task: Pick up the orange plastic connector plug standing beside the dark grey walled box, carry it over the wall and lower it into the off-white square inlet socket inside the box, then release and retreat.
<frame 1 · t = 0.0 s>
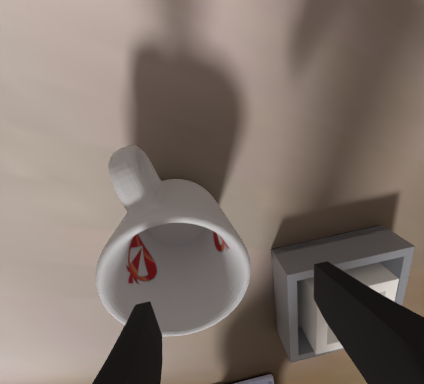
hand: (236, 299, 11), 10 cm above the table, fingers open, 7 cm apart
walled box: (325, 281, 25), on the table
cup: (168, 197, 19), on the table
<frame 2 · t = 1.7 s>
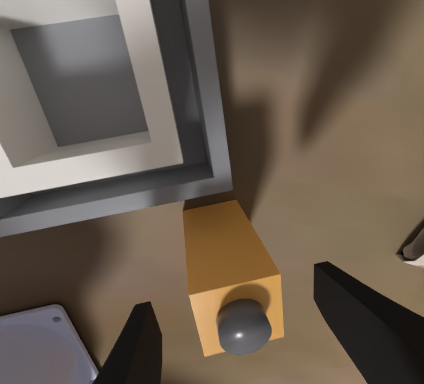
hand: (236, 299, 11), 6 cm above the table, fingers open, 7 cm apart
connector: (213, 228, 16), on the table
walled box: (96, 85, 12), on the table
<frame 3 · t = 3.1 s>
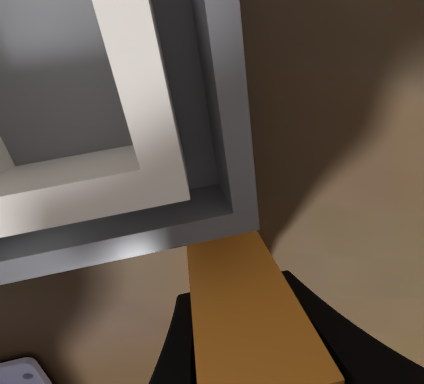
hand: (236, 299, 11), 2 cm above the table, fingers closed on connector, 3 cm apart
connector: (225, 263, 13), on the table, touching gripper
walled box: (68, 80, 9), on the table
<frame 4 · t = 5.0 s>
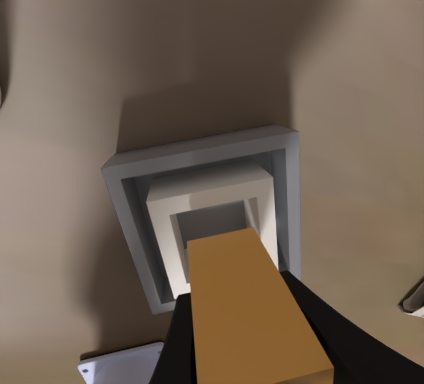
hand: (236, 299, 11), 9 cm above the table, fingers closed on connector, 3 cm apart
connector: (225, 261, 13), point 6 cm above the table, touching gripper
walled box: (209, 209, 19), on the table
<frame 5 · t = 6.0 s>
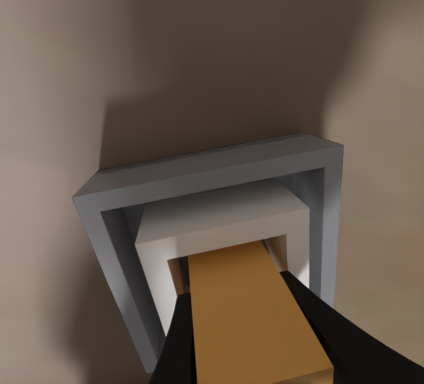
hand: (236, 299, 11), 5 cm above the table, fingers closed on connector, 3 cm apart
connector: (224, 261, 13), point 2 cm above the table, touching gripper
walled box: (218, 237, 15), on the table
when the fingers open (5 cm above the table, at t = 6.9 s): connector drops 1 cm, resting on walled box.
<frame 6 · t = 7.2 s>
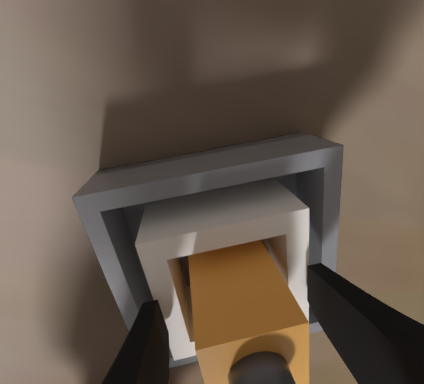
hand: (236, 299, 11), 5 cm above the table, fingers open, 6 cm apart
connector: (221, 247, 14), point 1 cm above the table, touching walled box
walled box: (218, 237, 15), on the table
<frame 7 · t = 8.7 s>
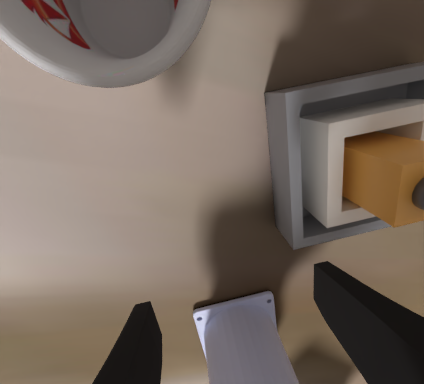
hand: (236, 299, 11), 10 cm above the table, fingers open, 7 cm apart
connector: (343, 156, 19), point 1 cm above the table, touching walled box
walled box: (336, 152, 19), on the table
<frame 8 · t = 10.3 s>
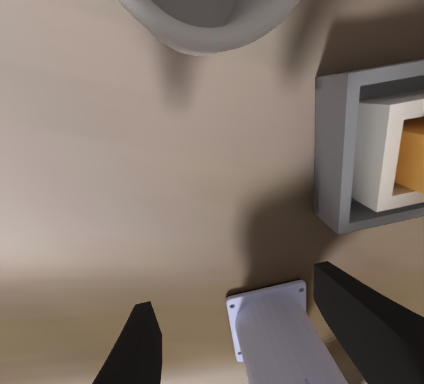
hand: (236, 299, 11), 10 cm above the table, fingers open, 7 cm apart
connector: (387, 144, 19), point 1 cm above the table, touching walled box
walled box: (379, 140, 20), on the table
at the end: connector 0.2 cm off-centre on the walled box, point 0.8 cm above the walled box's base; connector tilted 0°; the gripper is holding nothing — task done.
